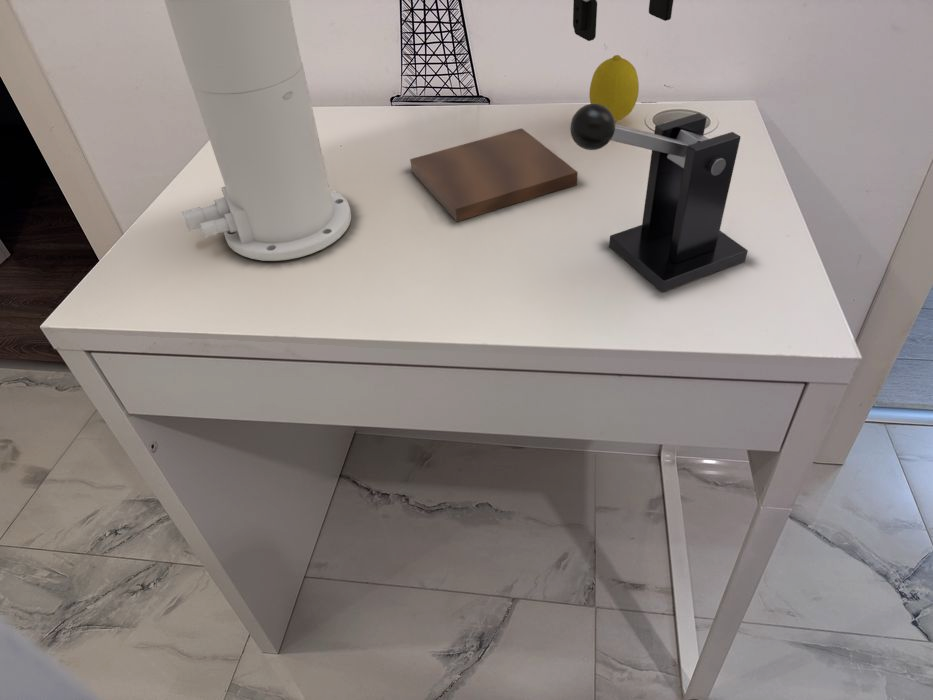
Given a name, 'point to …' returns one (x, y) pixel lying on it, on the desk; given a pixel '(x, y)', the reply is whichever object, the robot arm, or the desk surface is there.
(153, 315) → the desk surface
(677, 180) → the lever stand
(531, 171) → the board
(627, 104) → the lemon
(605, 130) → the lever
